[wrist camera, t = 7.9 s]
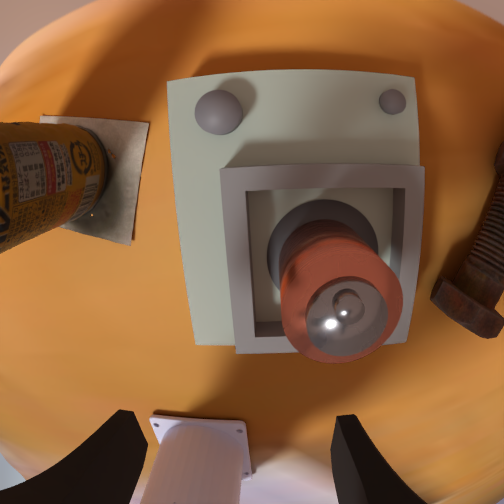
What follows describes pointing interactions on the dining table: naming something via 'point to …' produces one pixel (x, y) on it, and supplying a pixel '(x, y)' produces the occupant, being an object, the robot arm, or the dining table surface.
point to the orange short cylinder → (336, 293)
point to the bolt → (479, 273)
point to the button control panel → (288, 186)
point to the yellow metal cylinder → (69, 177)
